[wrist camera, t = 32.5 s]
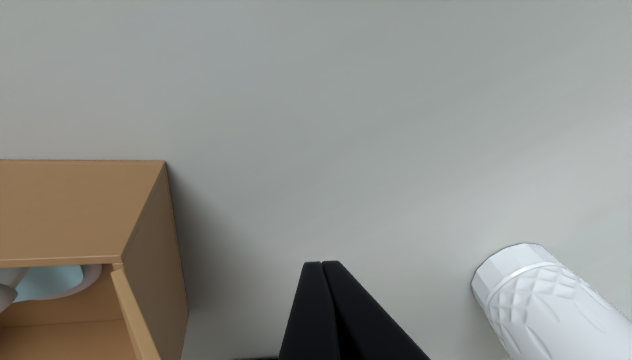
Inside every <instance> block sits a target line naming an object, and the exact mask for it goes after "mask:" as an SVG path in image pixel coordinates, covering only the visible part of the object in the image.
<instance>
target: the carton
mask: <svg viewBox="0 0 632 360" xmlns="http://www.w3.org/2000/svg"><path fill="white" fill-rule="evenodd" d="M86 264H102V272H101V274H100V276H99V277H98V279H97V280H96V281H95V282H94V283H93V284H91V285H90V286H89V287H87V288H86V289H84V290H82V291H80V292H78V293H75V294H72V295H69V296H66V297H61V298H56V299H49V300H25V301H20V302H14V303H12V304H10V305H9V306H8V307H7V308H6V309H5V310H3V311H2V312H1V313H0V360H137V359H136V355H135V352H134V349H133V346H132V342H131V339H130V336H129V333H128V329H127V326H126V323H125V320H124V316H123V313H122V310H121V307H120V303H119V300H118V297H117V294H116V290H115V287H114V284H113V281H112V277H111V272H114V271H116V270H119V269H123V270H124V273H125V275H126V277H127V280H128V282H129V284H130V287H131V289H132V291H133V294H134V296H135V298H136V301H137V303H138V305H139V308H140V310H141V312H142V315H143V317H144V319H145V322H146V324H147V326H148V329H149V331H150V334H151V336H152V338H153V341H154V343H155V345H156V348H157V350H158V352H159V355H160V357H161V359H162V360H180V358H181V353H182V348H183V343H184V337H185V332H186V327H187V322H188V316H189V311H188V304H187V298H186V291H185V285H184V279H183V272H182V266H181V259H180V253H179V247H178V240H177V234H176V228H175V221H174V215H173V208H172V202H171V196H170V189H169V183H168V176H167V170H166V164H165V161H123V160H0V268H15V267H39V266H62V265H86Z"/></svg>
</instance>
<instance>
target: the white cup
mask: <svg viewBox="0 0 632 360" xmlns="http://www.w3.org/2000/svg"><path fill="white" fill-rule="evenodd" d="M471 285H472V289H473V293H474V296H475V298H476V299H477V301H478V303H479V304H480V306H481V307H482V309H483V311H484V312H485V314H486V316H487V318H488V320H489V322H490V324H491V326H492V328H493V330H494V332H495V333H496V335H497V336H498V338H499V340H500V342H501V343H502V345H503V347H504V349H505V351H506V352H507V354H508V356H509V357H510V359H511V360H632V321H631V320H629V319H628V318H627V317H626V316H625V315H624V314H623V313H621V312H620V311H619V310H618V309H617V308H616V307H615V306H614V305H613V304H611V303H610V302H609V301H608V300H607V299H605V298H604V297H602V296H601V295H600V294H598V293H597V292H596V291H595V290H594V289H593V288H592V287H591V286H590V285H589V284H587V283H586V282H585V281H584V280H582V279H581V278H580V277H579V276H578V275H577V274H575V273H574V272H573V271H571V270H569V269H567V268H566V267H565V266H564V265H562V264H561V263H560V262H558V261H557V260H556V259H555V258H554V257H553V256H552V255H551V254H550V253H548V252H547V251H546V250H545V249H544V248H543V247H542V246H540V245H535V244H527V243H523V244H519V245H515V246H511V247H507V248H505V249H503V250H501V251H499V252H497V253H496V254H494V255H492V256H491V257H489V258H488V259H487V260H486V261H485V262H484V263H483V264H482V265H481V266H480V267H479V268H478V269H477V270H476V273H475V275H474V278H473V280H472V283H471Z"/></svg>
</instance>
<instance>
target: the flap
mask: <svg viewBox="0 0 632 360" xmlns="http://www.w3.org/2000/svg"><path fill="white" fill-rule="evenodd" d="M111 277H112V281H113V284H114V287H115V290H116V294H117V297H118V300H119V303H120V307H121V310H122V313H123V316H124V320H125V323H126V326H127V329H128V333H129V336H130V339H131V342H132V346H133V349H134V352H135V355H136V359H137V360H162V359H161V357H160V355H159V352H158V350H157V348H156V345H155V343H154V341H153V338H152V336H151V334H150V331H149V329H148V326H147V324H146V322H145V319H144V317H143V315H142V312H141V310H140V308H139V305H138V303H137V301H136V298H135V296H134V294H133V291H132V289H131V287H130V284H129V282H128V280H127V277H126V275H125V273H124V270H123V269H119V270H116V271H114V272H111Z"/></svg>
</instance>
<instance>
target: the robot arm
mask: <svg viewBox="0 0 632 360" xmlns="http://www.w3.org/2000/svg"><path fill="white" fill-rule="evenodd" d="M265 360H431V359H430V358H429V357H428V356H427V355H426V354H425V353H424V352H423V351H422V350H421V349H420V348H419V347H418V345H417V344H416V343H415V342H414V341H413V340H412V339H411V338H410V337H409V336H408V335H407V334H406V333H405V331H404V330H403V329H402V328H401V327H400V326H399V325H398V324H397V323H396V322H395V321H394V320H393V319H392V318H391V316H390V315H389V314H388V313H387V312H386V311H385V310H384V309H383V308H382V307H381V306H380V305H379V304H378V303H377V301H376V300H375V299H374V298H373V297H372V296H371V295H370V294H369V293H368V292H367V291H366V290H365V289H364V287H363V286H362V285H361V284H360V283H359V282H358V281H357V280H356V279H355V278H354V277H353V276H352V275H351V274H350V272H349V271H348V270H347V269H346V268H345V267H344V266H343V265H342V264H341V263H340V262H339V261H323V262H322V263H321V262H319V261H316V262H305V263H304V265H303V268H302V272H301V276H300V279H299V283H298V287H297V290H296V294H295V298H294V301H293V305H292V309H291V313H290V316H289V320H288V324H287V327H286V331H285V335H284V338H283V342H282V346H281V350H280V353H279V357H278V358H276V359H265Z"/></svg>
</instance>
